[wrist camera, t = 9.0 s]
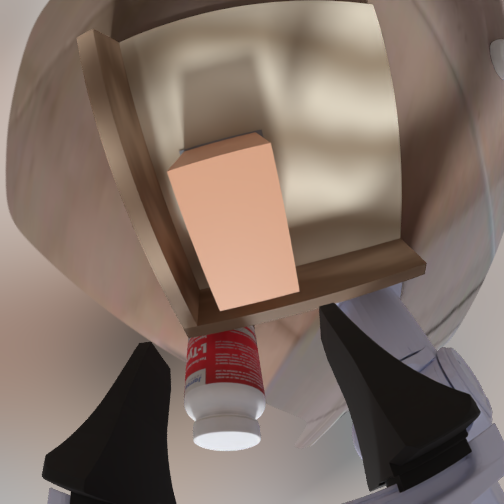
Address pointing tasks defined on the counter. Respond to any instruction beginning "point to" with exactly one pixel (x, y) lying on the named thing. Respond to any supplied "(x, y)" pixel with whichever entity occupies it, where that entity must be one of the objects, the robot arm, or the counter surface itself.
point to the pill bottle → (224, 389)
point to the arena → (269, 127)
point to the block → (236, 219)
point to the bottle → (498, 56)
